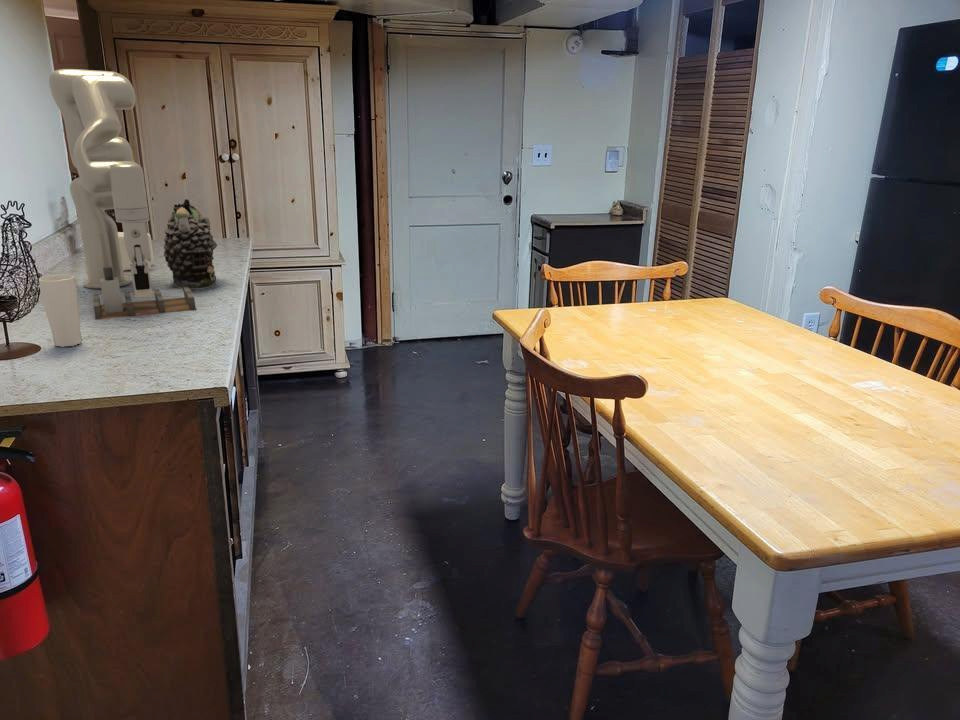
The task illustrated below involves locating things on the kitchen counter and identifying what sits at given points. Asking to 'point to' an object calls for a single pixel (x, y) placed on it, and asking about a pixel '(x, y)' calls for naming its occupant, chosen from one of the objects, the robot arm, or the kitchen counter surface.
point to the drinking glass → (61, 308)
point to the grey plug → (111, 292)
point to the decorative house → (189, 248)
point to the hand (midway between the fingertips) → (142, 286)
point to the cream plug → (146, 291)
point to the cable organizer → (124, 254)
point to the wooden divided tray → (147, 305)
